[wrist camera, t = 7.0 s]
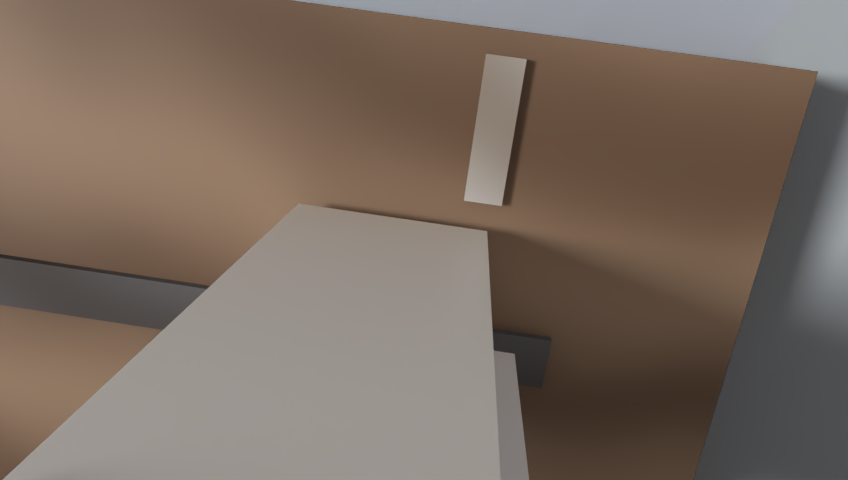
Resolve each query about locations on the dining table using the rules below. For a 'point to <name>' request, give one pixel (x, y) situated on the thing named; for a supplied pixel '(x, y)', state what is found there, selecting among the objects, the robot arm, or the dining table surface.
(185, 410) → the fader
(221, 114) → the brown flat wooden board
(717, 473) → the dining table surface
